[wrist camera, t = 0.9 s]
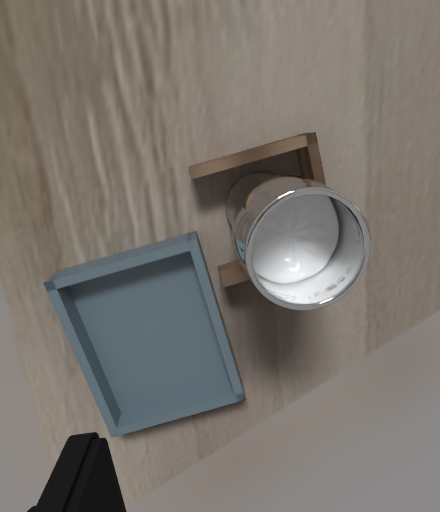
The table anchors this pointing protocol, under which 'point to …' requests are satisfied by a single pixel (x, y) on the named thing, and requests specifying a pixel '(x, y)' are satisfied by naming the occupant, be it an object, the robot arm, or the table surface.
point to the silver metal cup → (297, 239)
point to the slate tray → (148, 334)
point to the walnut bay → (302, 143)
